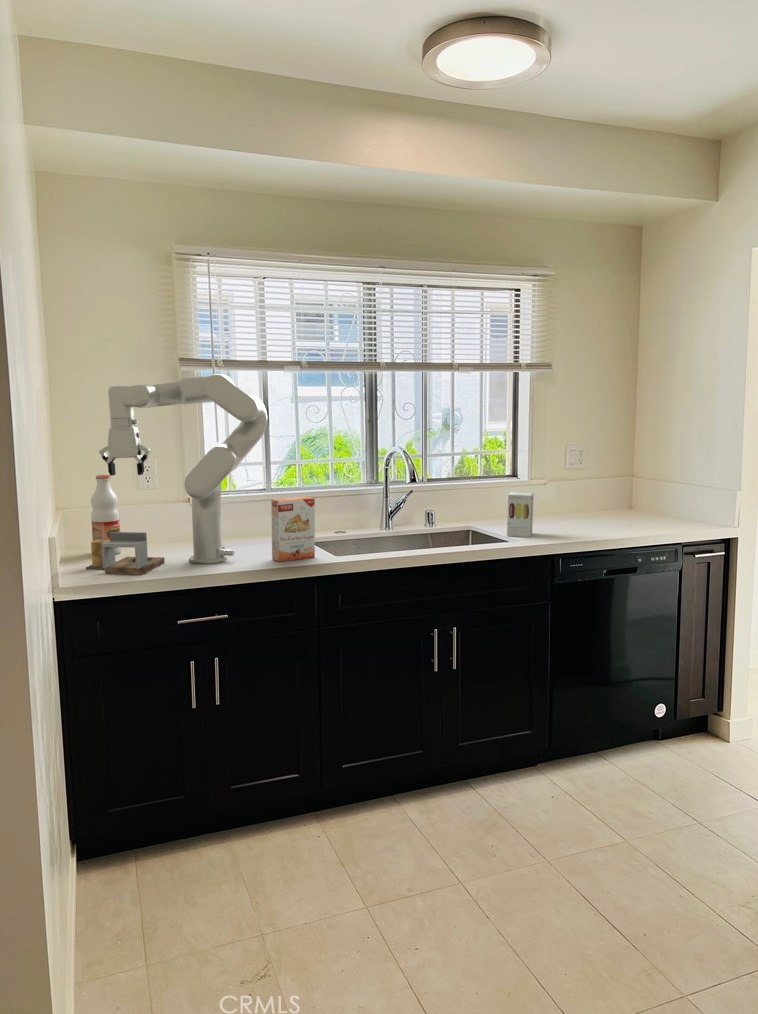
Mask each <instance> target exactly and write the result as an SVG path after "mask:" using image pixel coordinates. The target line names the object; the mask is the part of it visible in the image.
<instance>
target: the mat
mask: <svg viewBox="0 0 758 1014" xmlns="http://www.w3.org/2000/svg"><path fill="white" fill-rule="evenodd" d="M100 569H105V568H103V567H95V566H92V564H90V565H88V566H86V567H85V570H100Z"/></svg>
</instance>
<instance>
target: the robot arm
mask: <svg viewBox="0 0 758 1014" xmlns="http://www.w3.org/2000/svg"><path fill="white" fill-rule="evenodd" d="M107 392H108V407H109V417H110V418H109V419H110V428H108V435H107V446H105V447H104V448H101V449H100V450H98V453H99V455H100V456H101V458H102V460H103V461H104V462H105V463H106V464H107V470H108V471H107V472H108V474H109V475H110V477H111V476H115V475H116V473H117V472H116V463H115V462H114V461H116V459H122V458H123V459H124V458H125V459H126V458H127V459H128V458H132V459H133V458H134V460H136V461H137V463H136V469H137V470H136V471H137V473H136V474H137V475H138V476H142V475H144V472H145V466H144V465H145V464H144V463H145V462H146V460H147V459H148V458H149V455H150V453H151V449H150V448H148V447H147V446H145V445H142V442H141V435H140V432H139V429H138V428H139V427H136V425H138V424H139V420H138V419H136V418H135V413H134V412H135V411H134V408H138V409H139V408H140V409H141V408H142V409H144V408H145V409H146V408H149V409H150V408H158V407H166V406H175V405H176V406H177V405H182V406H185V405H186V406H187V405H194V404H202V403H204V404H205V403H211V402H213V403H214V404H215V405H217V406H219V407H220V408H221V409H222V410H223V411H226V412H227V413H228V414H229V415H231V416H232V417H234V418H235V419H237V420H239V421H240V423H239V424H238V426H237V427H236V428H234V430H232V432H231V433H230V435H228V436H227V438H226V439H225V440H223V442H222V443H221V444H219V445H216V446H214V447H212V448H211V449H210V450H209V451H208V452H207V453H206V454H205V455H204V456H203V457H202V459H200V460H199V461H198V463H197V464H196V465H195V466H194V467H193V468H192V470H190V472H188V474H187V476H186V477H185V480H184V482H183V483H184V490H185V493H186V494H187V495H188V496H189V497H191V518H192V519H191V520H192V521H191V523H192V544H193V545H192V546H193V547H192V548H193V551H192V552H193V555H191V556H189V558H188V562H190V563H193V564H203V565H206V564H207V565H208V564H217V563H222V562H224V561H227V560H228V557H233V556H234V554H235V550H233V549H226V548H225V545H223V543H222V541H223V540H222V537H223V536H222V512H221V511H222V509H221V508H222V506H221V505H222V503H221V501H222V500H221V499H222V497H221V496H222V482H223V481H224V480H225V479H226V478H227V477H228V475H230V473H232V472H233V471H235V470H236V469H237V468H238V467H239V465H240V464H241V462H242V461H243V460H244V458H246V456H248V454H250V452H251V451H252V450H253V448H254V447H255V446H256V445H257V444H258V442H259V441H260V440H261V439H262V437H263V436H264V434H265V432H266V429H267V425H268V413H267V408H266V406H265V404H264V403H263V401H262V400H261V399H260V398H259V397H257V396H256V395H250V394H248V393H246V392H245V391H243V390H242V389H240V388H239V387H238V386H237V385H235V384H234V381H233V380H232V379H231V377H230V376H228V375H226V374H220V373H213V374H210V375H204V376H196V377H195V376H194V377H185V378H182V379H179V380H177V381H174V382H168V383H157V384H135V385H130V386H129V385H128V386H127V385H113V386H110V387H109V388H108V391H107ZM106 452H108V455H107V453H106ZM143 453H144V454H143Z"/></svg>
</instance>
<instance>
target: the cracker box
mask: <svg viewBox="0 0 758 1014" xmlns="http://www.w3.org/2000/svg"><path fill="white" fill-rule="evenodd" d="M315 501H316V499H315V498H314V497H309V496H299V497H287V498H286V497H285V498H284V497H283V498H275V499H271V501H270V503H271V507H270V508H271V559H272V560H275V561H277V562H279V563H280V562H287V561H288V562H289V561H295V560H305V559H312V558H315V557H316V556H315V553H316V551H315V549H316V548H315V546H316V544H315V543H316V541H315V540H316V539H315V538H316V537H315V536H316V531H315V530H316V528H315V527H316V525H315V519H316V518H315V516H316V515H315V514H316V513H315V512H316V511H315V504H316V503H315Z"/></svg>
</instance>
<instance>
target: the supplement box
mask: <svg viewBox="0 0 758 1014" xmlns="http://www.w3.org/2000/svg"><path fill="white" fill-rule="evenodd" d="M507 495H508V496H507V497H508V499H507V516H506V517H507V521H506V522H507V523H506V536H507V537H516V538H517V537H520V538H522V537H523V538H531V536H532V535H533V525H534V524H533V521H534V492H520V491H519V492H517V491H511V492H510V493H508V494H507ZM531 534H532V535H531Z"/></svg>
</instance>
